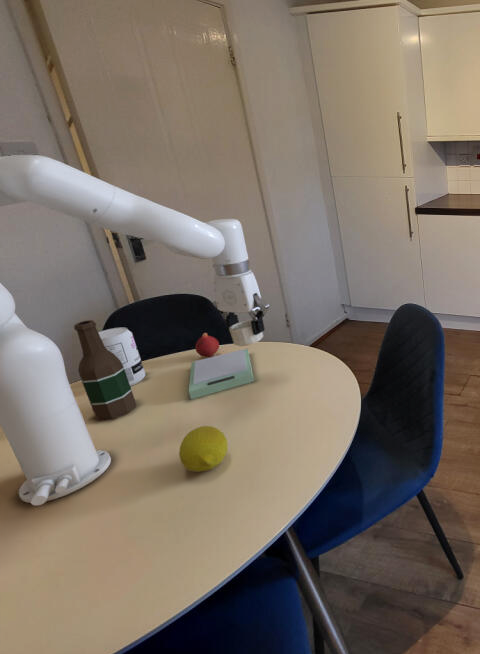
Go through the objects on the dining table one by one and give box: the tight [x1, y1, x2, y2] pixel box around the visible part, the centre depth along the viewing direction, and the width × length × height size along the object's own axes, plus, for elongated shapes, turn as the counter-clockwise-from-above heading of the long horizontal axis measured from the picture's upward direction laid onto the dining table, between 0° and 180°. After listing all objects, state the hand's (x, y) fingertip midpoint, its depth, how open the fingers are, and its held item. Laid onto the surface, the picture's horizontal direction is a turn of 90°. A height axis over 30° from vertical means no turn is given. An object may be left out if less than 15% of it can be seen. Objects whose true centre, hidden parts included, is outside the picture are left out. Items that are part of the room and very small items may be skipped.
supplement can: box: [98, 326, 146, 387], centre depth 112 cm, size 8×8×15 cm
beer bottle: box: [73, 319, 137, 421], centre depth 99 cm, size 8×8×24 cm
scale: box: [188, 348, 255, 400], centre depth 117 cm, size 18×14×3 cm
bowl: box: [229, 318, 264, 347], centre depth 110 cm, size 7×7×5 cm
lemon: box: [178, 425, 228, 473], centre depth 84 cm, size 11×8×8 cm
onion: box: [194, 332, 220, 358], centre depth 126 cm, size 6×6×8 cm
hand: (246, 331), depth 110 cm, fingers closed on bowl, 7 cm apart
